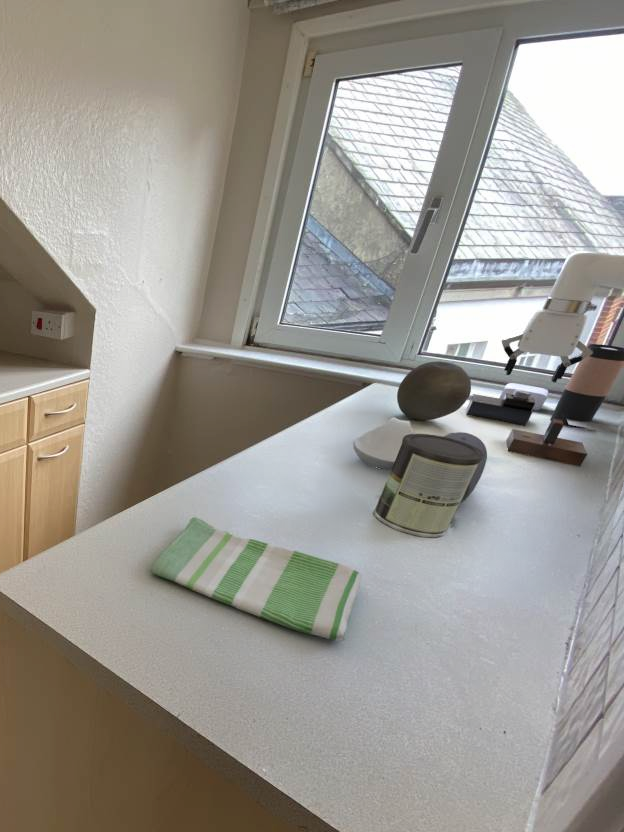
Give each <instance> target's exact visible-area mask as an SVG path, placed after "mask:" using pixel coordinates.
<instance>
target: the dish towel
mask: <svg viewBox="0 0 624 832" xmlns="http://www.w3.org/2000/svg"><path fill="white" fill-rule="evenodd" d="M149 572H150V573H151V574H152V575H155V576H158V577H161V578H163V579H166V580H168V581H171V582H175V584H176V583H177V584H178V585H181V586H183V587H186V588H188V589H190V590H192V591H194V592H197V593H199V594H202V595H204V596H206V597H209V598H211V599H213V600H215V601H218V602H220V603H223V604H225V605H228V606H231V607H234V608H236V609H238V610H240V611H242V612H244V613H245V612H246V613H249V614H251V615H253V616H256V617H259V618H261V619H264V620H267V621H269V622H271V623H274V624H277V625H280V626H281V627H282V626H283V627H285V628H288V629H291V630H293V631H296V632H301V633H304V634H309V635H314V636H317V637H320V638H323V639H324V638H325V639H327V640H331V641H339V642H342V641H345V637H346V636H345V634H346V631H347V627H348V624H349V620H350V617H351V614H352V612H353V609H354V605H355V602H356V599H357V596H358V593H359V589H360V587H361V579H362V573H361V572H360V571H357V570H355V569H354V568H352V567H351V566H348V565H345V564H342V563H339V562H335V561H332V560H328V559H324V558H321V557H318V556H315V555H311V554H307V553H305V552H302V551H298V550H293V549H289V548H285V547H281V546H277V545H273V544H270V543H268V542H264V541H262V540H258V539H253V538H252V539H251V538H245V537H241V536H238V535H235V534H233V533H230V532H229V531H225V530H223V529H220V528H218V527H215V526H213V525H211V524H209V523H207V522H206V521H204V520H203V519H201V518H199V517H196V516H194V517H191V519H190V520H189V522H188V524H187V525H186V526H185V528H184V530H183V532H181V534H180V535H178V537H176V538H175V539H174V540H173V541H172V542H171V543H170V544H169V545H168V546H167V548H166V549H164V551H162V552H161V553H160V554H159V556H158V557H156V559H155V560H154V562H153V563H152V564H151V565H150V568H149Z"/></svg>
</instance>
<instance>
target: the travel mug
mask: <svg viewBox="0 0 624 832" xmlns="http://www.w3.org/2000/svg"><path fill="white" fill-rule="evenodd" d="M587 347H588V348H589V349H590V350H592V352H593V354H591V355H590V356H588V357H586V358H585V359H583V360H582V361H580V362H578V363H577V366H576V368H575V370H574V371H573V373H572V375H571V376H570V379H568V382H567V384H566V386H565V387H564V389H563V392H562V393H561V396H560V398H559V400H558V402H557V404H556V406H555V408H554V409H553V412H552V415H551V416H550V419H549V420H550V422H551V421H552V419H553V418H554V419H559V420H562V421H563V424H564V426H563V427H569V428H576V429H586V427H585V426H579V425H574V424H569V421H568V420H570V421H574V422H575V421H577V422H585V423H586V422H587V423H589V422H592V421H593V419H594V417H595V416H596V414H597V412H598V411H599V409H600V407H601V406H602V404H603V402H604V401H605V399H606V397H607V396H608V394H609V393H610V390H611V389H612V387H613V385H614V383H615V381H616V380H617V378H618V376H619V374H620V372H621V371H622V369H623V367H624V347H622V346H615V345H610V344H609V345H608V344H601V343H589V344H588V345H587Z"/></svg>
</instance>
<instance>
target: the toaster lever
mask: <svg viewBox="0 0 624 832" xmlns="http://www.w3.org/2000/svg"><path fill="white" fill-rule="evenodd" d="M529 396H530V392H528V391H522V390H515V392H514V394H513V396H512V398H516V399H522V400H528V398H529Z"/></svg>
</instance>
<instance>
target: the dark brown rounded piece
mask: <svg viewBox="0 0 624 832" xmlns="http://www.w3.org/2000/svg"><path fill="white" fill-rule="evenodd" d="M471 381H472V380H471V378H470V376H469V374H468V373H467V371H465V370H464V368H462V367H461V366H459V365H457V364H455V363H452V362H446V361H442V360H441V361H439V360H438V361H437V360H436V361H429V362H428V361H427V362H425V363H422V364H419V365H418V366H415V368H413V369H411V370H410V371H409V372H408V373H407V374H406V375H405V376H404V378H403V379H402V380H401V382H400V384H399V386H398V389H397V392H396V393H397V394H396V399H397V400H396V401H397V406H398V408H399V410H400V411H401V413H402V414H403V415H405V416H406V417H408V418H410V419H412V420H417V421H431V420H432V421H433V420H437V419H440V418H443V417H447V416H448V415H451V414H453V413H455V412H457V411H458V410H460V409H461V407H463V405H464V404H465V403H466V402H467V401H468V399H469V397H470V395H471V393H472V382H471Z"/></svg>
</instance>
